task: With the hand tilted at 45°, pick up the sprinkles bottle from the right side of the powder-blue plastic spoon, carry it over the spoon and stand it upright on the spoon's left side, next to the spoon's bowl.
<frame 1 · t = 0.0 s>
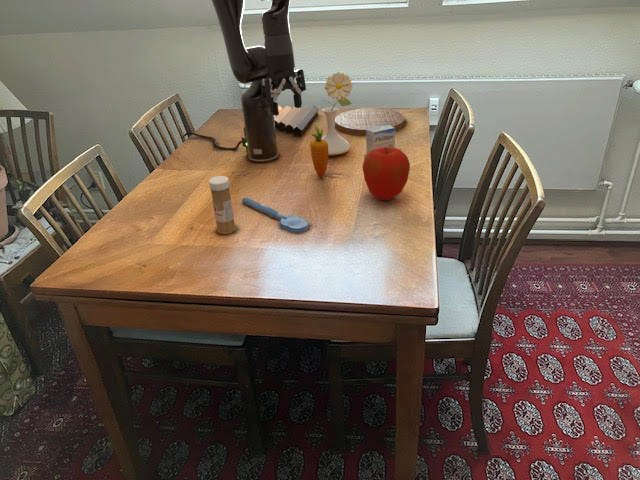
hand: (287, 111, 150), 17 cm above the table, tool pointing down, fingers open, 8 cm apart
medicine box: (380, 155, 163), on the table
sprinkles bottle: (226, 231, 127), on the table
spoon: (275, 217, 131), on the table
flower in vase: (334, 152, 167), on the table
trivet: (369, 124, 190), on the table
apple: (385, 198, 138), on the table
pan flute: (278, 124, 195), on the table
carrot: (321, 179, 151), on the table
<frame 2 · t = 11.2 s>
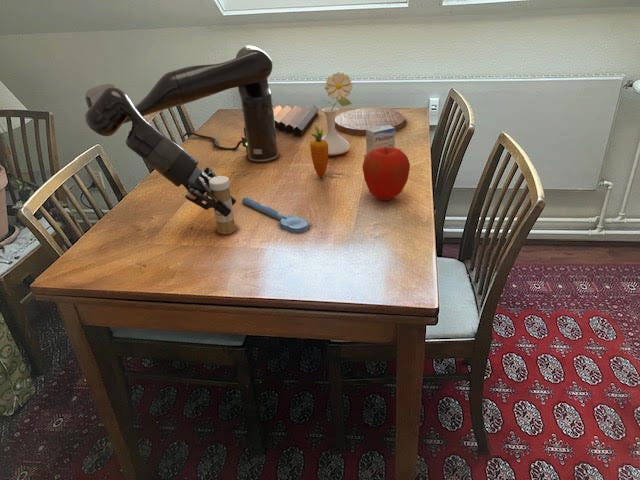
hand: (231, 208, 124), 6 cm above the table, tool tilted 45°, fingers closed on sprinkles bottle, 4 cm apart
sprinkles bottle: (226, 231, 127), on the table, touching gripper
everything else where it was.
when the fingers open (6 cm above the table, at t = 20.7 s): sprinkles bottle stays where it is, on the table.
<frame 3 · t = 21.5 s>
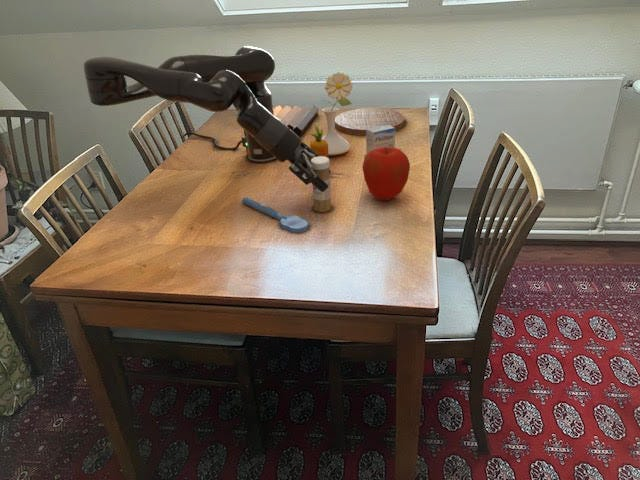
hand: (327, 181, 130), 7 cm above the table, tool tilted 45°, fingers open, 8 cm apart
sprinkles bottle: (322, 209, 134), on the table
everything else where it was.
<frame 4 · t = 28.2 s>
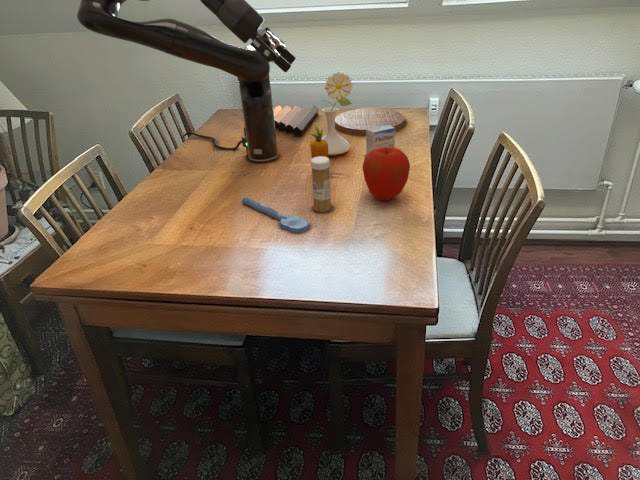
hand: (291, 65, 130), 33 cm above the table, tool tilted 45°, fingers open, 8 cm apart
nothing on the table moved.
at the end: sprinkles bottle inside the target area on the table beside the spoon (1.3 cm from its centre), on the table; sprinkles bottle tilted 0°; the gripper is holding nothing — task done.
